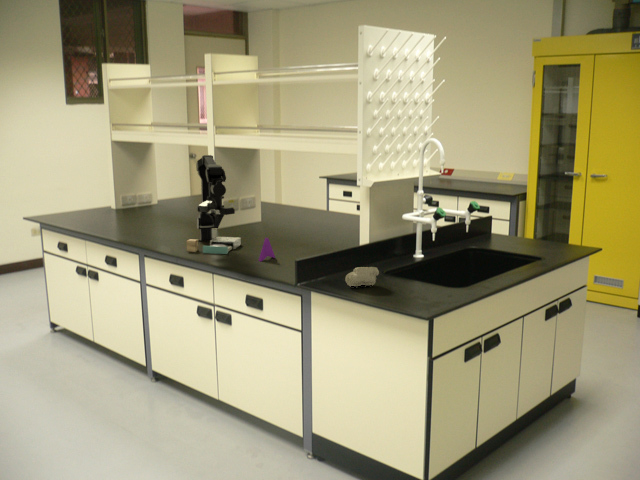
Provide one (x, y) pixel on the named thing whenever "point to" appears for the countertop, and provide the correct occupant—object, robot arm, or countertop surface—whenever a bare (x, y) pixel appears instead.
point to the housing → (226, 241)
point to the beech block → (192, 245)
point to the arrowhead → (266, 250)
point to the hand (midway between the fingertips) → (216, 228)
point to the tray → (216, 249)
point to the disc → (219, 245)
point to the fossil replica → (362, 276)
